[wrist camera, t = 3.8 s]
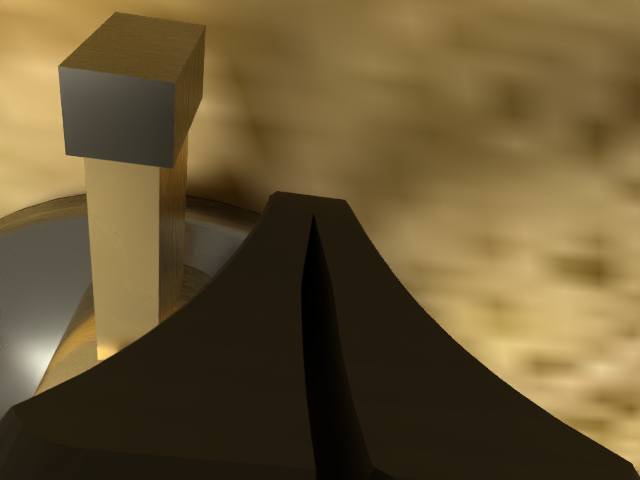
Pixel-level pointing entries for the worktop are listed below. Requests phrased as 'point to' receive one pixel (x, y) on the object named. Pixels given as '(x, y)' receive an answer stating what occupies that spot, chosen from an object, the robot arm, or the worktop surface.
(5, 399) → the level plate
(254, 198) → the worktop surface
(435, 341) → the robot arm
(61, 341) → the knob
